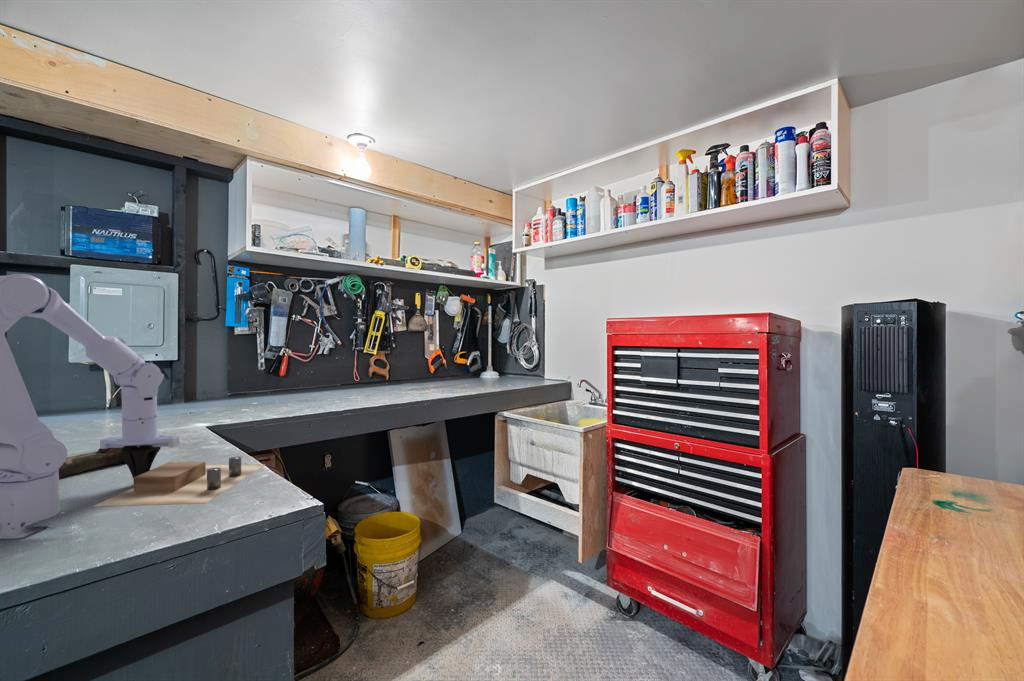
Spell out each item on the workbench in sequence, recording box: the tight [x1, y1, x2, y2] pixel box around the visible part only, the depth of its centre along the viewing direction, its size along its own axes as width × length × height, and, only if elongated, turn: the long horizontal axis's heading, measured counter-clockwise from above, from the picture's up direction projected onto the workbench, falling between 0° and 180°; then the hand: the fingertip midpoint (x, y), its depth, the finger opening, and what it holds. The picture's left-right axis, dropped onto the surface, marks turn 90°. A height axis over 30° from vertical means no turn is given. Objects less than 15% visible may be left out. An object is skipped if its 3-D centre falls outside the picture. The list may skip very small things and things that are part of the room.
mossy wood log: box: [59, 447, 126, 479], centre depth 108 cm, size 18×7×6 cm, turn 156°
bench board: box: [92, 456, 266, 508], centre depth 93 cm, size 24×20×6 cm
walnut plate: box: [132, 461, 206, 492], centre depth 93 cm, size 10×8×3 cm
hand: (140, 480), depth 92 cm, fingers closed
